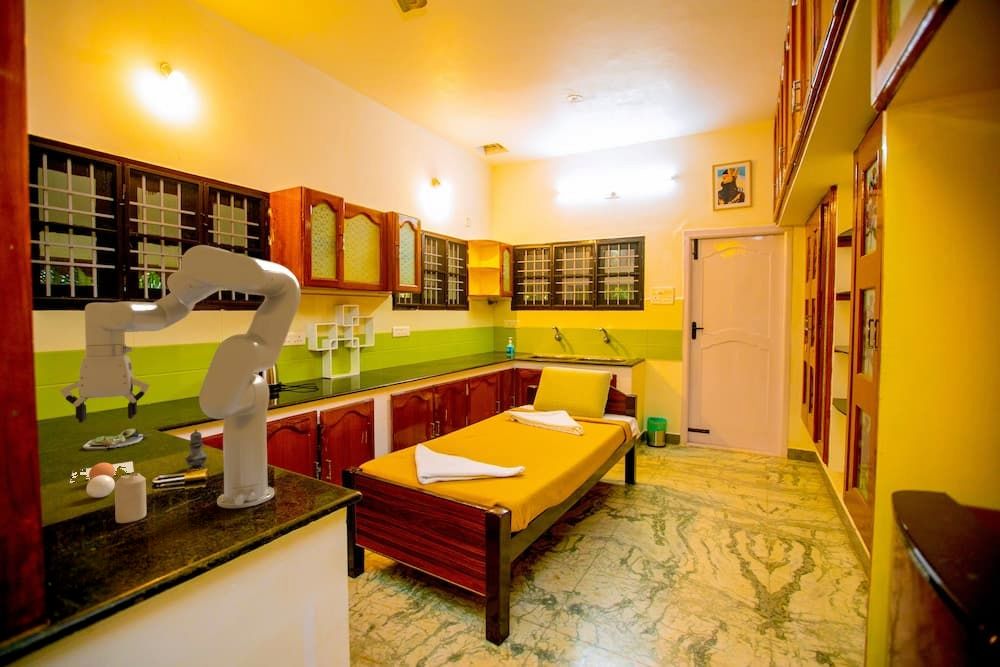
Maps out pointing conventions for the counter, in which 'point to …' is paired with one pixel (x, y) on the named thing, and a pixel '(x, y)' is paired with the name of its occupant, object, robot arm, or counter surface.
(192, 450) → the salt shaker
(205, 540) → the counter surface
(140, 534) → the counter surface
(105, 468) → the object ball
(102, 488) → the cue ball
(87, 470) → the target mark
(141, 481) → the candle
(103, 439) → the salad plate
